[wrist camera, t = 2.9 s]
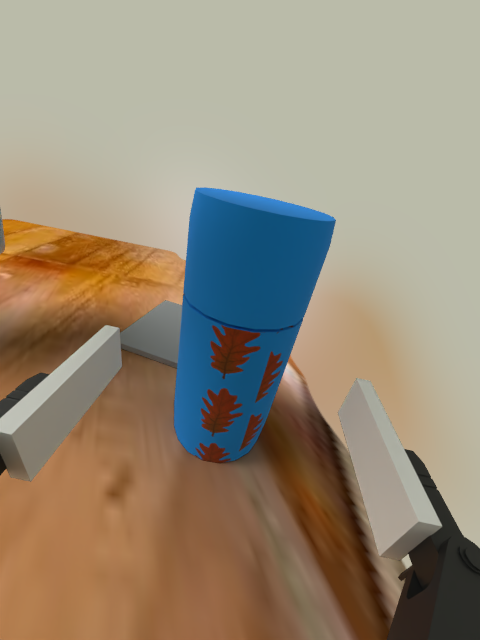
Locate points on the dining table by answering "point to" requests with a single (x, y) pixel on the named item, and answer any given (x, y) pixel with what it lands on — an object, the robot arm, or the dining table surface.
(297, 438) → the dining table surface
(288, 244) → the thermos
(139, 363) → the dining table surface
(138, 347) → the slate tile
